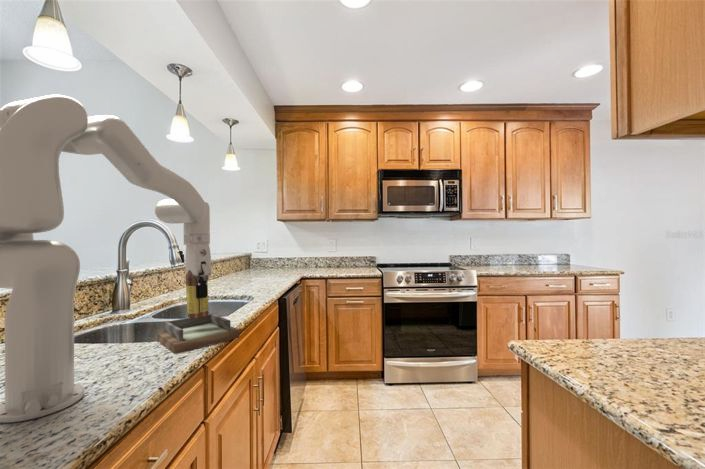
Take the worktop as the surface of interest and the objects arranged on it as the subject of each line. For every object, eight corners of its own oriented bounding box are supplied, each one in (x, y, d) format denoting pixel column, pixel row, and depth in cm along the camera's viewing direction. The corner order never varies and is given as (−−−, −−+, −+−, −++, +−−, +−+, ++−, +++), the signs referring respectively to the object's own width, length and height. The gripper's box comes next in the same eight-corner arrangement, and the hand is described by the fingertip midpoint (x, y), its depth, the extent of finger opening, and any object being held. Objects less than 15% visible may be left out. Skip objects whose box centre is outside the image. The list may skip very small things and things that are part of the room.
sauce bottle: (207, 313, 105) (207, 253, 106) (210, 317, 100) (209, 254, 100) (185, 316, 102) (184, 254, 102) (186, 320, 97) (186, 255, 97)
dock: (239, 337, 101) (239, 320, 102) (174, 353, 88) (173, 333, 88) (218, 328, 113) (218, 312, 113) (157, 341, 99) (157, 323, 99)
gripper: (220, 239, 98) (220, 298, 98) (198, 239, 110) (199, 291, 110) (194, 240, 92) (195, 302, 92) (175, 240, 104) (175, 295, 104)
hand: (197, 296), depth 101 cm, fingers closed on sauce bottle, 6 cm apart
